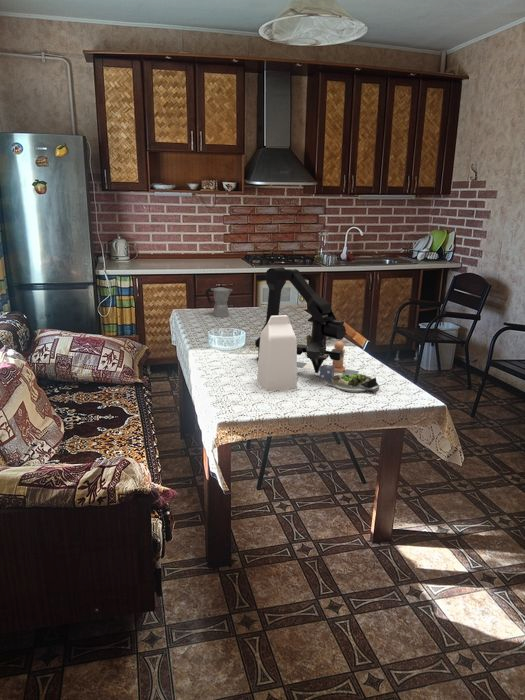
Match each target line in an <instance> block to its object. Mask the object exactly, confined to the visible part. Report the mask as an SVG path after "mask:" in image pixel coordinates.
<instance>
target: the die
mask: <svg viewBox="0 0 525 700" xmlns="http://www.w3.org/2000/svg"><path fill="white" fill-rule="evenodd" d="M334 370H335V366H331V365H328V364H322V367H321V368H320V371H319V379H321V380H325V381H326V380H327V381H332V380H331V378H332V377H333V376H335V373H334Z"/></svg>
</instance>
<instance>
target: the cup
mask: <svg viewBox="0 0 525 700" xmlns="http://www.w3.org/2000/svg"><path fill="white" fill-rule="evenodd" d="M311 337H312V334H308V335H306V338H305V340H306V345H307V347H308V345H309V343H310V340H311Z"/></svg>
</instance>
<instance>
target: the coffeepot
mask: <svg viewBox="0 0 525 700" xmlns="http://www.w3.org/2000/svg"><path fill="white" fill-rule="evenodd" d="M209 292H210V293H213V300H214V305H213V312H212V316H213V317H216V318H227V317H229V316H230V313H229V306H228V301H229V297H230V295H231V293H232V292H233V289H232V288H226V287H223V284H222V283H220V284H219V286H218V287H215V288H211V287H209V288H207V289H206V290H205V292H204V293H205V295H206V298H207V302H208V303H209V304H213V301H212V300H211V296H210V294H209Z"/></svg>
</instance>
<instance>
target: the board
mask: <svg viewBox="0 0 525 700" xmlns="http://www.w3.org/2000/svg"><path fill="white" fill-rule="evenodd" d="M322 366H323V364H322V365H321V367H322ZM321 367H320V368H321ZM298 368H299V369H303V370H304V369H306V370H312V371H315V370H314V367H313V364H312V363H307V362H303V361H302V362H301V361H297V369H298ZM319 372H320V369H319ZM353 374H360V371H359V370H352V369H346V368H345V372H343V373H335V375H353Z"/></svg>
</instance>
